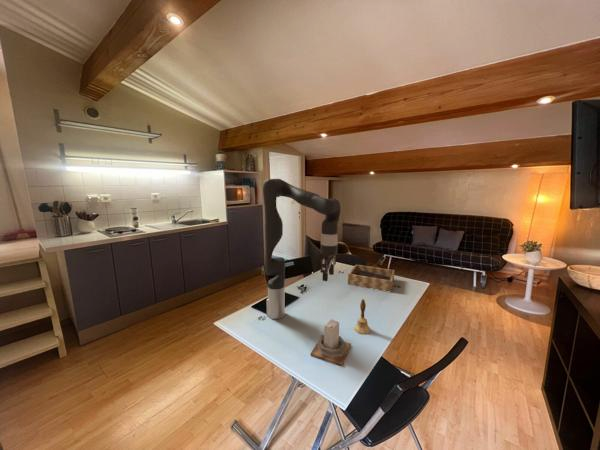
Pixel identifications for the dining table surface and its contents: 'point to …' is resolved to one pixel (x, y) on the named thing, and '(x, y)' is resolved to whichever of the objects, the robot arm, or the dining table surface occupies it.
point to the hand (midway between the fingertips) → (328, 277)
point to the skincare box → (331, 334)
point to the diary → (372, 275)
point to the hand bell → (362, 321)
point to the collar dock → (331, 351)
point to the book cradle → (370, 281)
